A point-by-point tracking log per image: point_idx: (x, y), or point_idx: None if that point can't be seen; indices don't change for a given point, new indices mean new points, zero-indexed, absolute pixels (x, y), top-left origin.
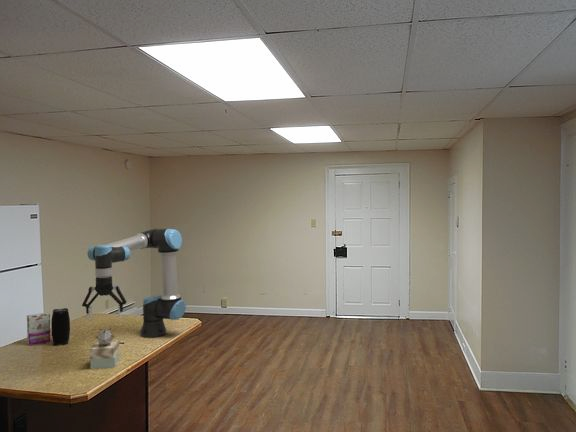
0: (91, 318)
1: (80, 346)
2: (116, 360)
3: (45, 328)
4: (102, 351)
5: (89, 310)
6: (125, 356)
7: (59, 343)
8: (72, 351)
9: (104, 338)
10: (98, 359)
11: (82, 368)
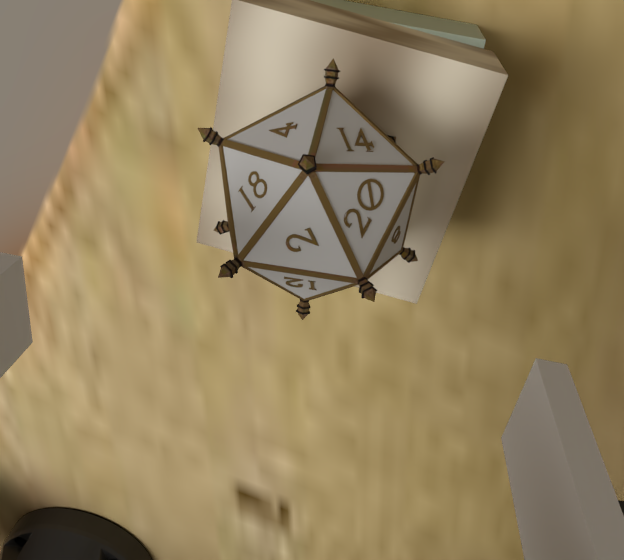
0: (508, 446)
1: (499, 542)
2: None
3: None
4: (361, 28)
5: (611, 552)
6: None
7: None
8: None
9: (320, 104)
10: (407, 23)
11: (541, 79)
